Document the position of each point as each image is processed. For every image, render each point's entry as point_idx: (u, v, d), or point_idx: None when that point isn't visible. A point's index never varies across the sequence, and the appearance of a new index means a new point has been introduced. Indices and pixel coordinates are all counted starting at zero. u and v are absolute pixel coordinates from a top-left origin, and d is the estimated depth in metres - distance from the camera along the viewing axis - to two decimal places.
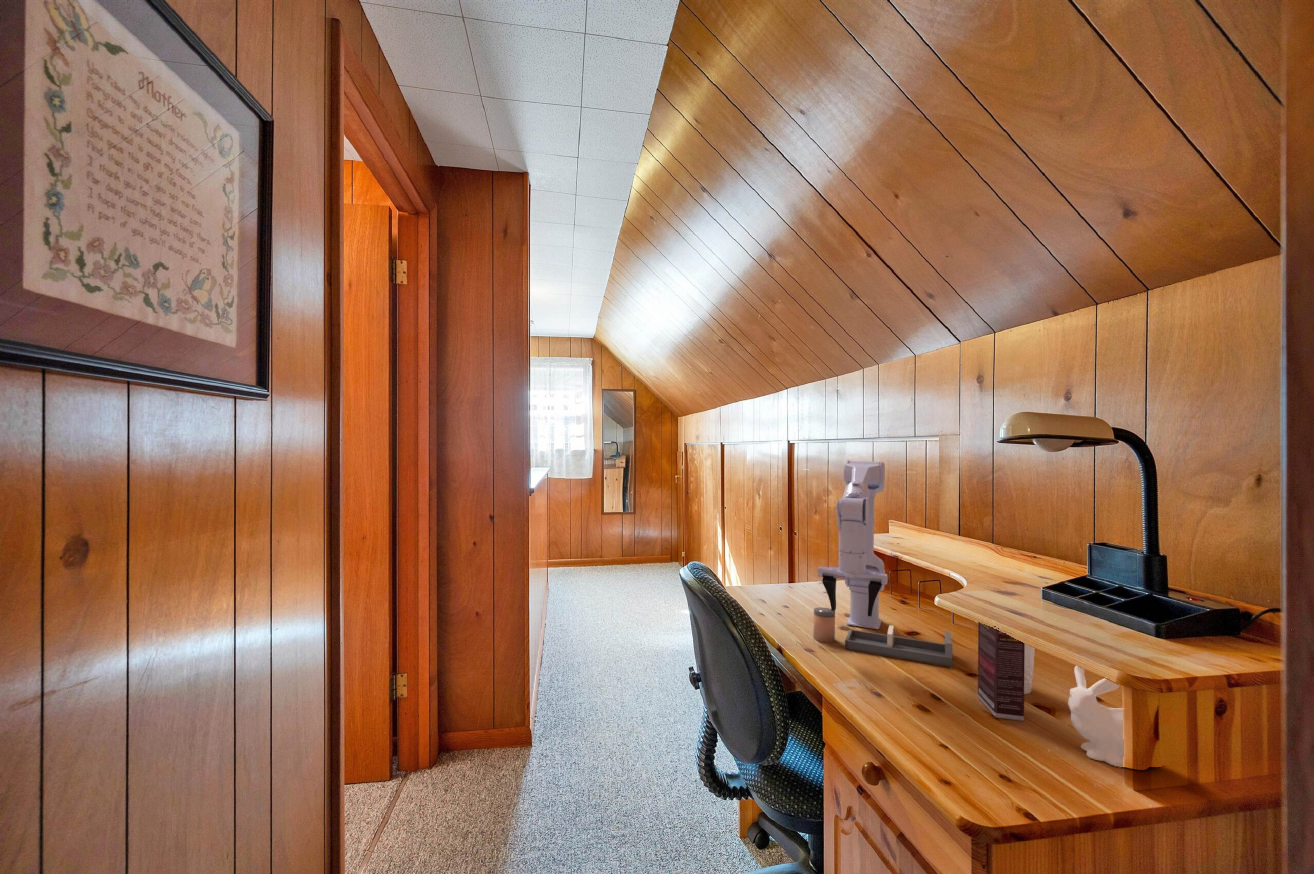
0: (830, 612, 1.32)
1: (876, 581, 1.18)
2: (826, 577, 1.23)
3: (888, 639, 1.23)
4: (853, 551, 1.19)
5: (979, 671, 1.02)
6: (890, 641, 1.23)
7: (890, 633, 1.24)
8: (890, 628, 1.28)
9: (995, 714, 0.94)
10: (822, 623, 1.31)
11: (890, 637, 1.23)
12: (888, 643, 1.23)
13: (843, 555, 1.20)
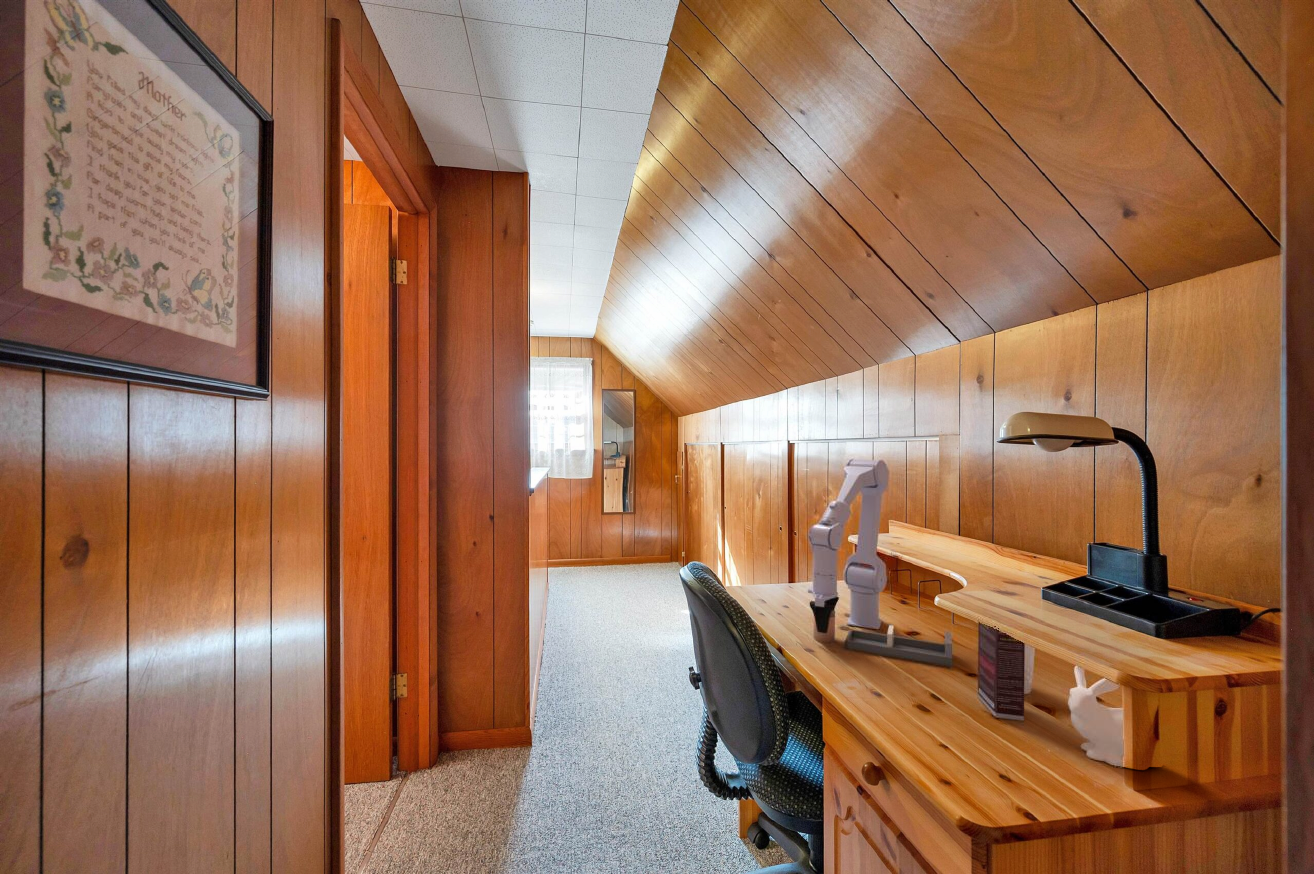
0: None
1: None
2: None
3: (888, 639, 1.23)
4: (820, 573, 1.31)
5: (979, 671, 1.02)
6: (890, 641, 1.23)
7: (890, 633, 1.24)
8: (890, 628, 1.28)
9: (995, 714, 0.94)
10: None
11: (890, 637, 1.23)
12: (888, 643, 1.23)
13: None
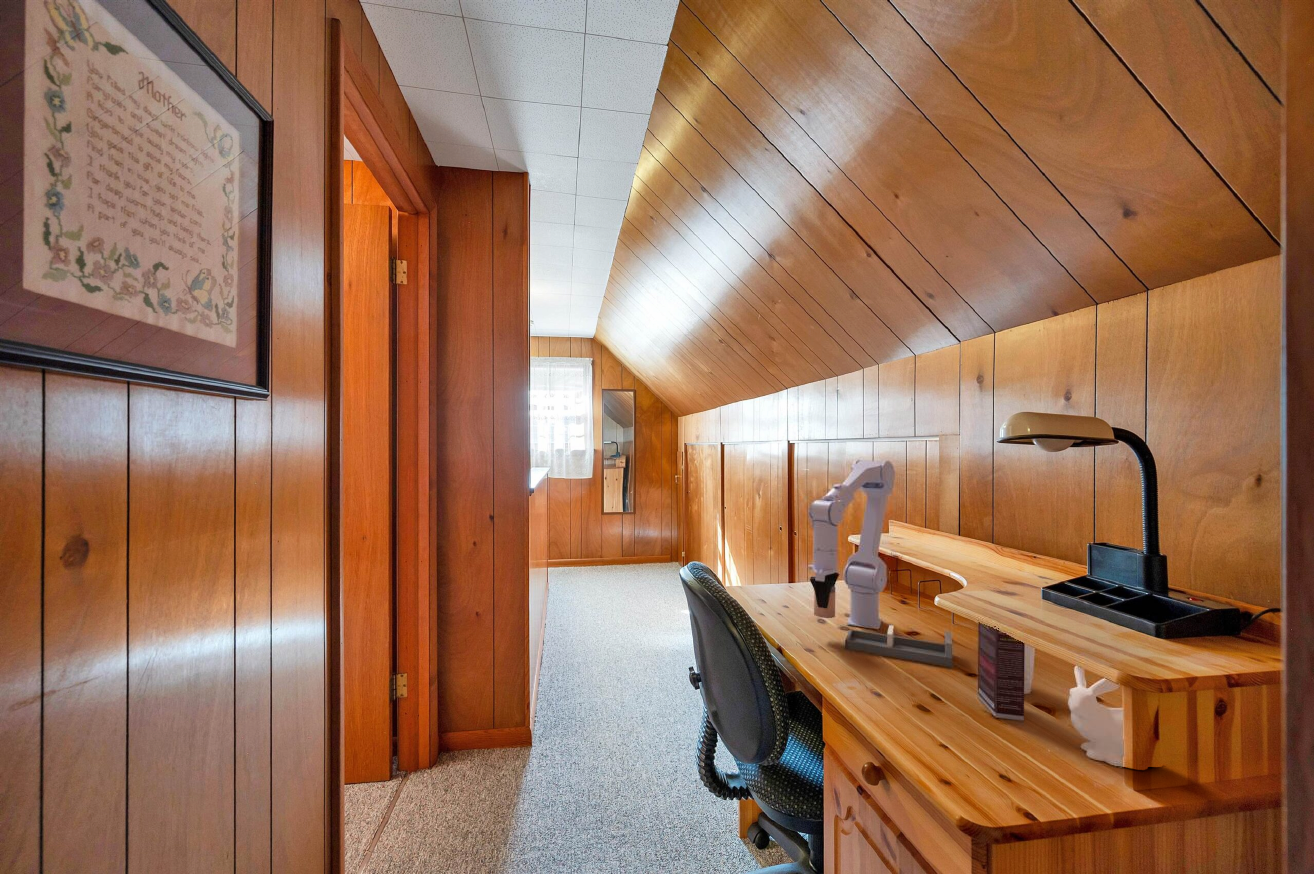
0: None
1: None
2: None
3: (888, 639, 1.23)
4: (820, 548, 1.31)
5: (979, 671, 1.02)
6: (890, 641, 1.23)
7: (890, 633, 1.24)
8: (890, 628, 1.28)
9: (995, 714, 0.94)
10: None
11: (890, 637, 1.23)
12: (888, 643, 1.23)
13: None
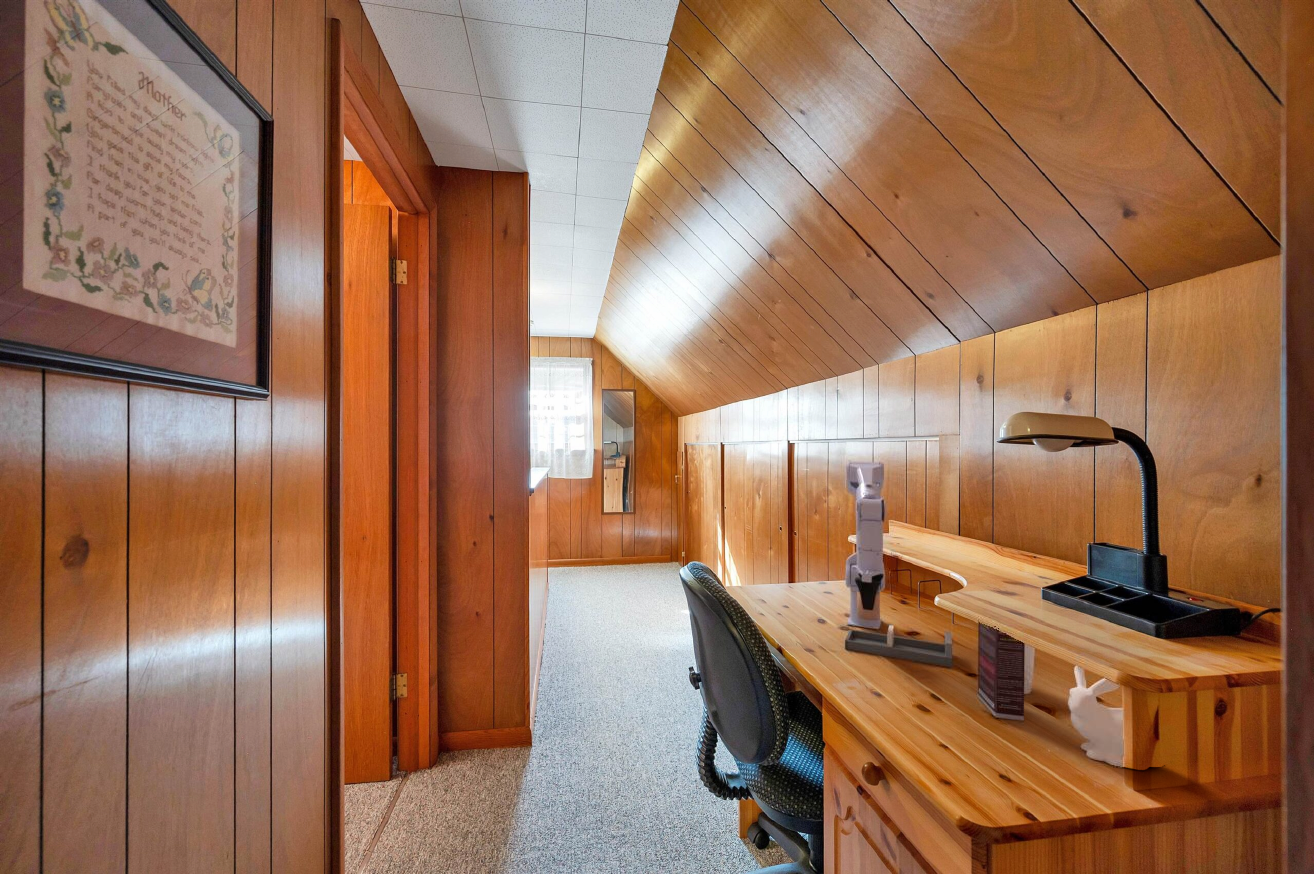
0: None
1: None
2: None
3: (888, 639, 1.23)
4: (873, 549, 1.26)
5: (979, 671, 1.02)
6: (890, 641, 1.23)
7: (890, 633, 1.24)
8: (890, 628, 1.28)
9: (995, 714, 0.94)
10: None
11: (890, 637, 1.23)
12: (888, 643, 1.23)
13: None
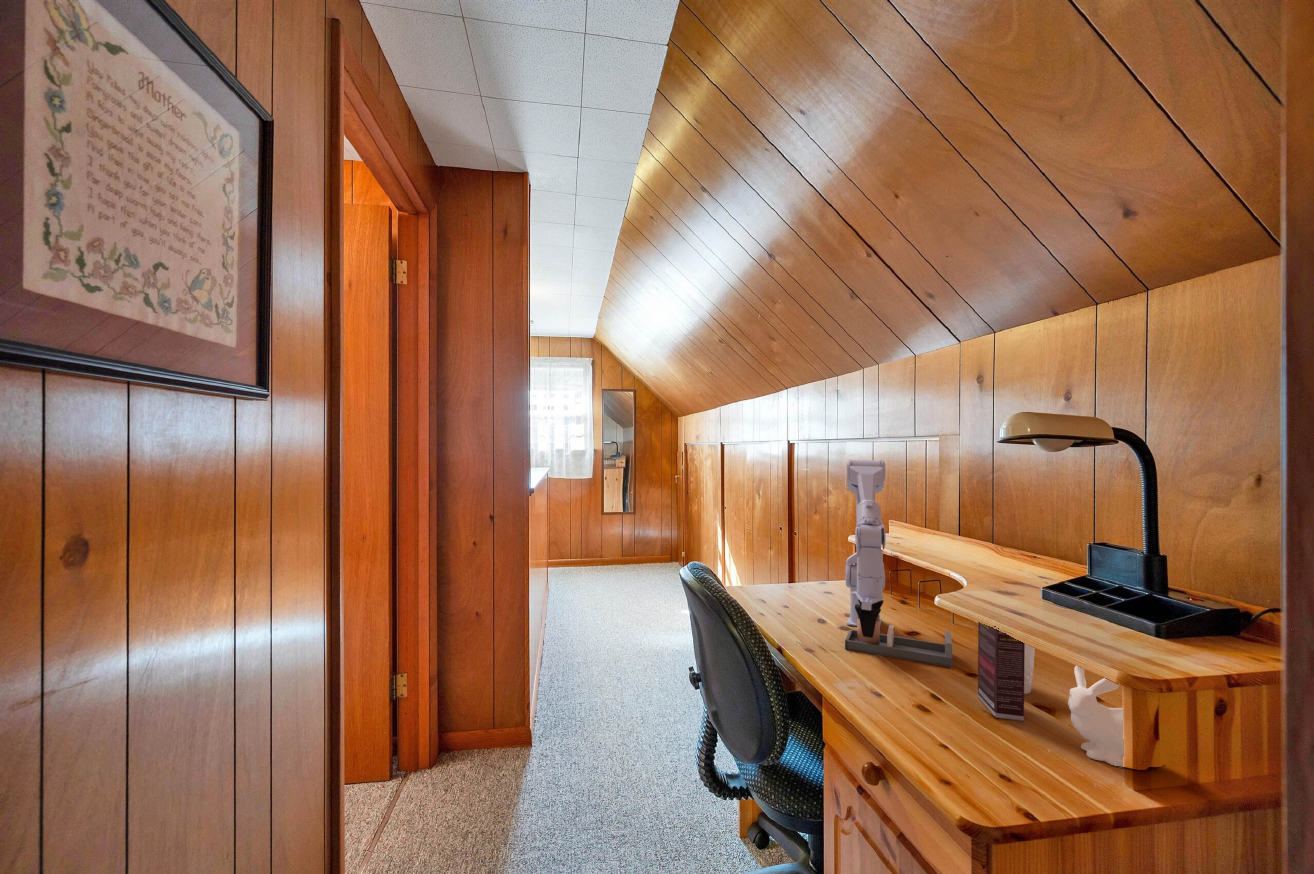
0: None
1: None
2: None
3: (888, 639, 1.23)
4: (873, 576, 1.26)
5: (979, 671, 1.02)
6: (890, 641, 1.23)
7: (890, 633, 1.24)
8: (890, 628, 1.28)
9: (995, 714, 0.94)
10: None
11: (890, 637, 1.23)
12: (888, 643, 1.23)
13: None
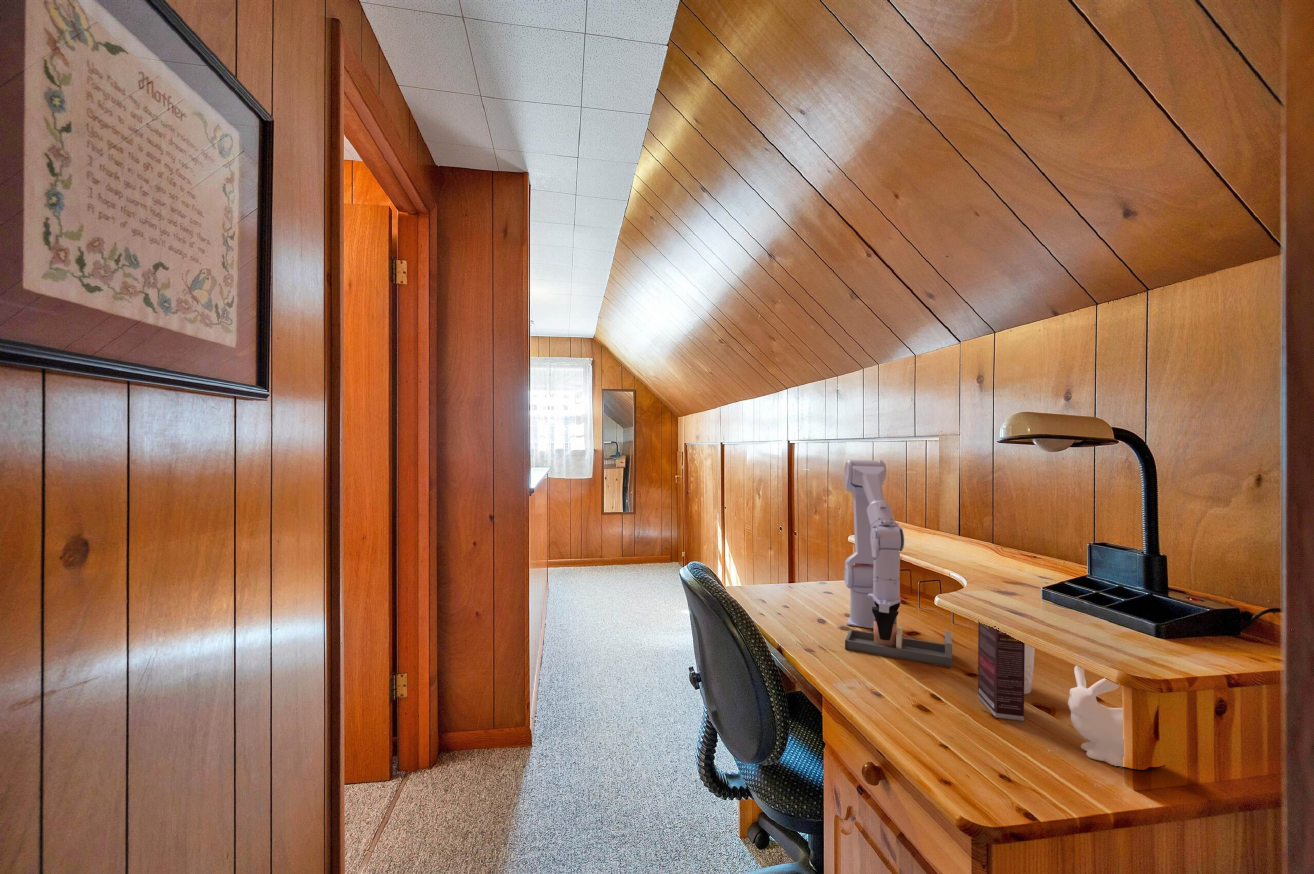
0: None
1: None
2: None
3: (897, 640, 1.22)
4: (892, 578, 1.24)
5: (979, 671, 1.02)
6: (899, 642, 1.22)
7: (899, 634, 1.23)
8: (899, 629, 1.27)
9: (995, 714, 0.94)
10: None
11: (899, 638, 1.22)
12: (897, 644, 1.22)
13: None
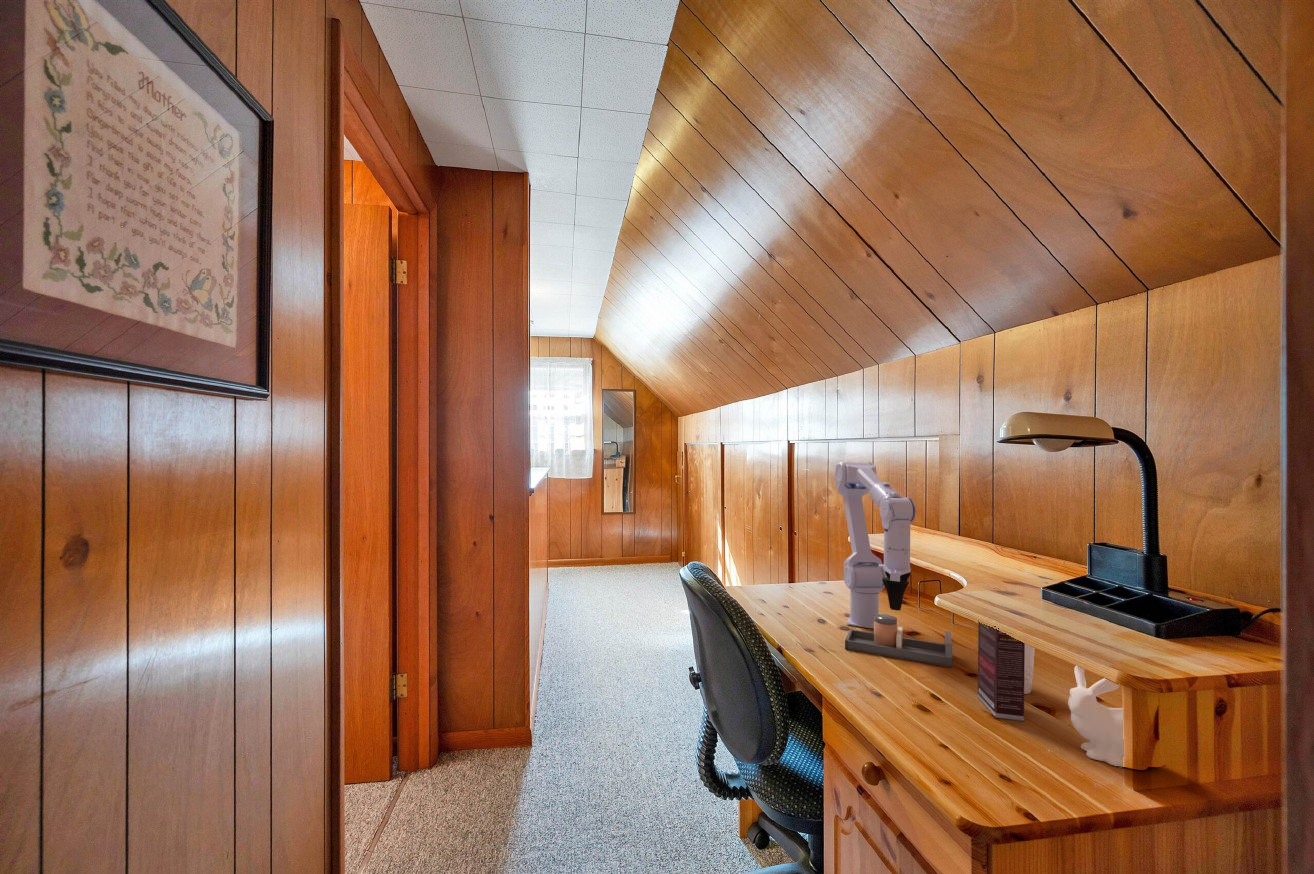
0: (892, 619, 1.25)
1: None
2: None
3: (897, 640, 1.22)
4: (905, 548, 1.26)
5: (979, 671, 1.02)
6: (899, 642, 1.22)
7: (899, 634, 1.23)
8: (899, 629, 1.27)
9: (995, 714, 0.94)
10: (885, 631, 1.25)
11: (899, 638, 1.22)
12: (897, 644, 1.22)
13: None
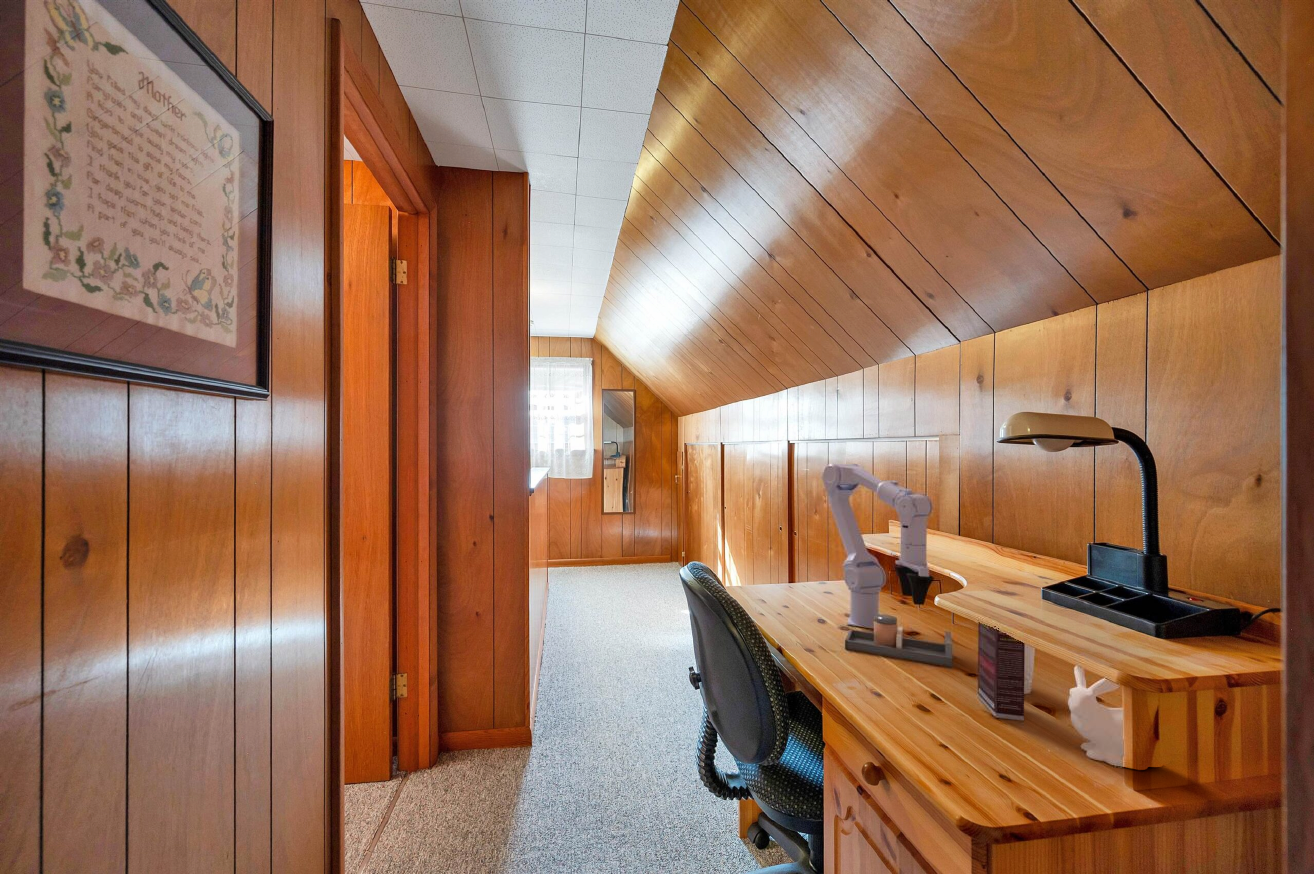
0: (892, 619, 1.25)
1: (918, 572, 1.27)
2: (901, 564, 1.37)
3: (897, 640, 1.22)
4: (925, 543, 1.30)
5: (979, 671, 1.02)
6: (899, 642, 1.22)
7: (899, 634, 1.23)
8: (899, 629, 1.27)
9: (995, 714, 0.94)
10: (885, 631, 1.25)
11: (899, 638, 1.22)
12: (897, 644, 1.22)
13: None
